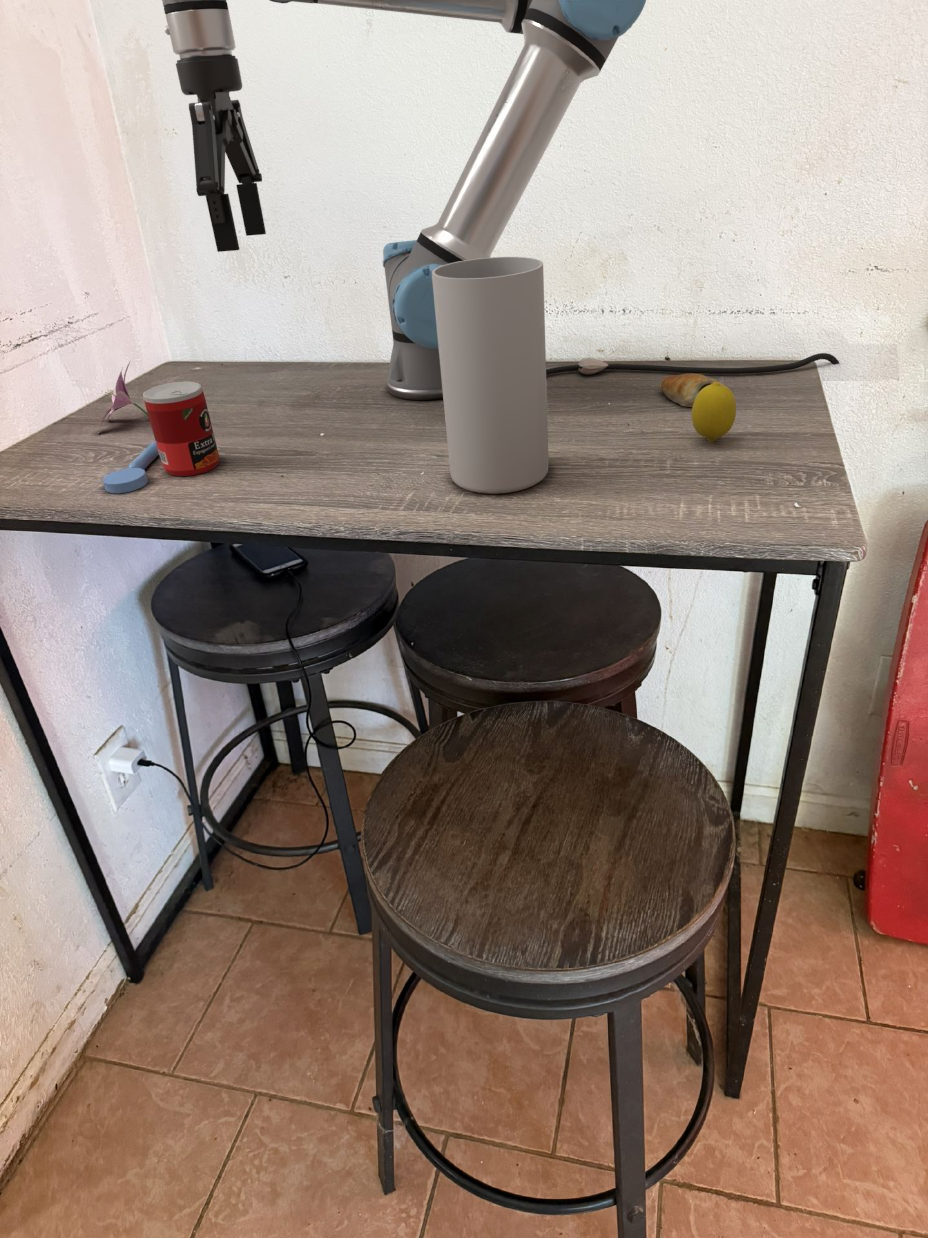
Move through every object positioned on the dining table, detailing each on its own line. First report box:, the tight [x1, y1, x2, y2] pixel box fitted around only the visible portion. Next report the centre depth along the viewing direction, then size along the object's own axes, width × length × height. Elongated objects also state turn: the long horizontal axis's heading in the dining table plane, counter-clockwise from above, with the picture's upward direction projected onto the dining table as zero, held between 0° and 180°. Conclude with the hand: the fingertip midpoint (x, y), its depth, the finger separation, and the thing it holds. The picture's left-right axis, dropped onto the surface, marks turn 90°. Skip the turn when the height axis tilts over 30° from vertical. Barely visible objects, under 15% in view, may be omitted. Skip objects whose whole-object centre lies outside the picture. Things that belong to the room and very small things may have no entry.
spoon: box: [102, 439, 160, 494], centre depth 121 cm, size 21×6×2 cm, turn 177°
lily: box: [98, 360, 148, 432], centre depth 136 cm, size 12×12×10 cm
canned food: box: [142, 381, 220, 477], centre depth 116 cm, size 8×8×11 cm
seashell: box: [578, 357, 609, 376], centre depth 141 cm, size 4×5×2 cm
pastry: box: [659, 373, 718, 408], centre depth 127 cm, size 9×7×4 cm
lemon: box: [691, 381, 737, 443], centre depth 110 cm, size 6×6×8 cm
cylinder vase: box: [432, 256, 550, 495], centre depth 101 cm, size 12×12×25 cm
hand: (243, 242), depth 115 cm, fingers open, 13 cm apart
